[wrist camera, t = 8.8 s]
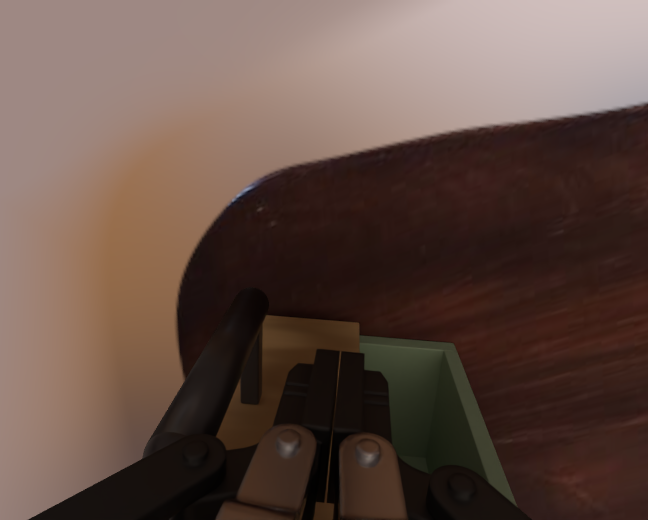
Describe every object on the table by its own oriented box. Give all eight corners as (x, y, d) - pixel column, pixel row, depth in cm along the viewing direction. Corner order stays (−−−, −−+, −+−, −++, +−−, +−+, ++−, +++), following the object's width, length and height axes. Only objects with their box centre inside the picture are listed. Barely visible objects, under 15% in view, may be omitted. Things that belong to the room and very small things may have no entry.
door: (261, 323, 27) (-168, 1351, 5) (262, 230, 25) (-459, 1267, 3) (358, 331, 27) (364, 1454, 5) (367, 238, 25) (452, 1442, 3)
